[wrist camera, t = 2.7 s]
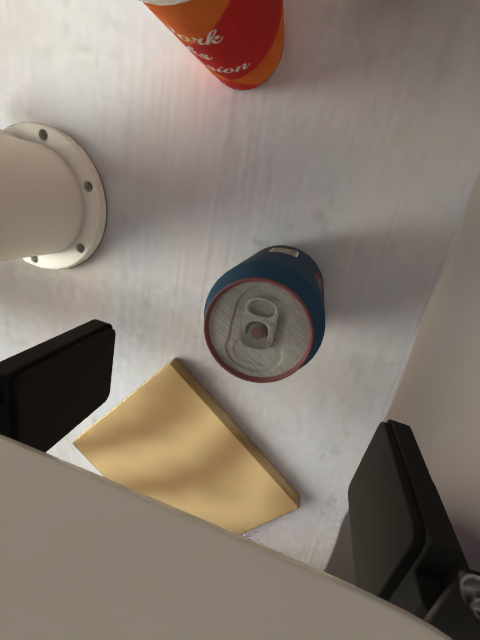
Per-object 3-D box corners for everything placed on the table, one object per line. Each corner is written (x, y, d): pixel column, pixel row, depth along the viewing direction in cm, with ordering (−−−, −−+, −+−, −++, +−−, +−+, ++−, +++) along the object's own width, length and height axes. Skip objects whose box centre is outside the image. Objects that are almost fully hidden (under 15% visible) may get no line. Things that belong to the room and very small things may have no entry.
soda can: (311, 331, 28) (307, 408, 17) (236, 313, 29) (185, 374, 18) (333, 253, 26) (343, 283, 14) (250, 236, 27) (201, 252, 16)
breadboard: (80, 435, 39) (71, 443, 37) (175, 356, 32) (169, 363, 31) (188, 547, 41) (183, 559, 39) (300, 496, 34) (299, 508, 33)
